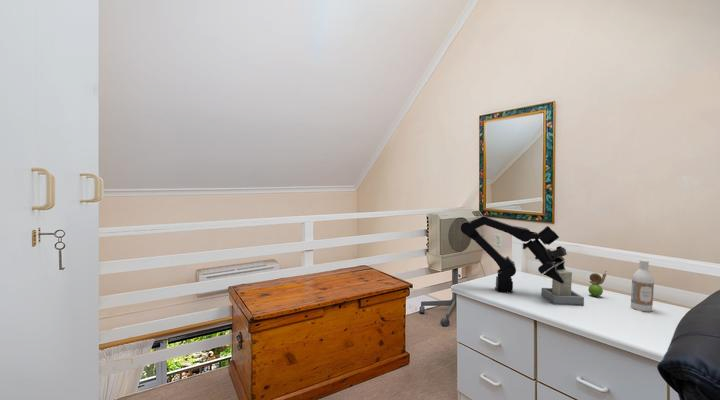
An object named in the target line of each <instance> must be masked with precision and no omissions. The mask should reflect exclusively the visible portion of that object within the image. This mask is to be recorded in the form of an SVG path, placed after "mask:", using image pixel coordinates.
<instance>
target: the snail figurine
mask: <svg viewBox="0 0 720 400" xmlns="http://www.w3.org/2000/svg"><path fill="white" fill-rule="evenodd" d="M604 272H605V273H602V275H600V274H599V273H596V272H594V273H591V274H590V275H589V281H588V282H589V283H590V284H591V285H589V286H588V289H587V291H588V293H589V294H590V295H591V296H593V297H600V296H602V295H603V293H604V290H603V287H602V286H601V285H602V284H604V282H605V280H606V277H607V271H606V270H605V271H604Z"/></svg>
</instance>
